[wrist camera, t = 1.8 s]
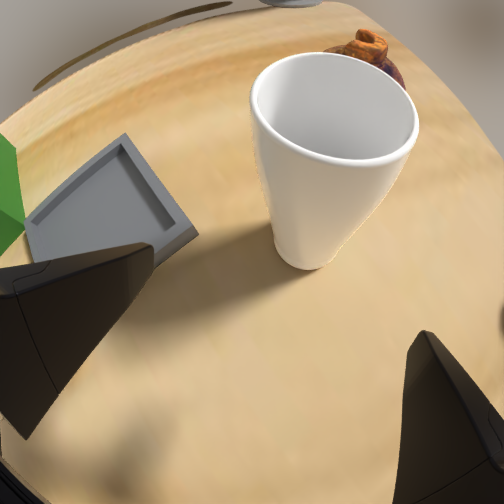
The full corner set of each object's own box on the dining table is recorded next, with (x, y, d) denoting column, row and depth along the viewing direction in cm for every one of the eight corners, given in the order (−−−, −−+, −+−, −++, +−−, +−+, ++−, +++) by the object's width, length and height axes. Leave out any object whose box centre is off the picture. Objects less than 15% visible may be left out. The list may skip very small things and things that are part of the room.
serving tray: (73, 335, 23) (60, 332, 21) (34, 228, 27) (23, 221, 25) (199, 234, 25) (193, 224, 23) (132, 143, 29) (125, 132, 27)
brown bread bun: (372, 132, 27) (390, 80, 20) (290, 77, 31) (290, 28, 24) (419, 93, 29) (435, 51, 22) (346, 49, 32) (352, 7, 26)
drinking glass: (286, 295, 22) (300, 197, 8) (251, 220, 25) (221, 71, 10) (362, 259, 23) (453, 141, 9) (323, 191, 25) (356, 42, 11)
